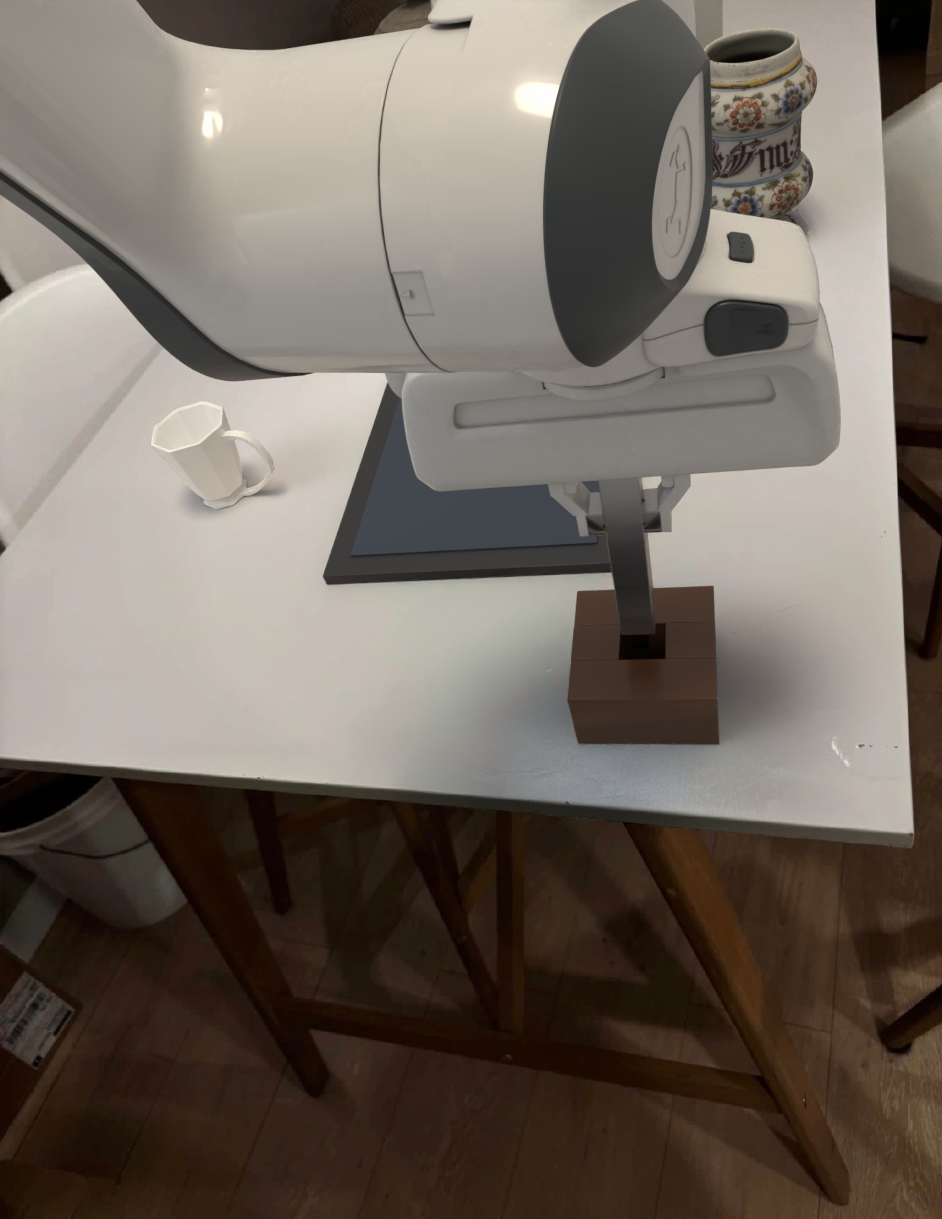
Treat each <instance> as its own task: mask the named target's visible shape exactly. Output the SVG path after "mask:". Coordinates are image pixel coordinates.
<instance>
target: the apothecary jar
mask: <svg viewBox="0 0 942 1219" xmlns="http://www.w3.org/2000/svg"><path fill="white" fill-rule="evenodd" d="M704 51H705V53H706V54H707V55H708V57H709V58H710V74H711V119H712V201H711V209H715V210H720V211H725V212H731V213H737V214H743V215H749V216H756V217H762V218H769V219H776V220H782V221H787V222H791V223H794V224H796V225H798V226H799V224H798V222H797V221H796V219H795V218H794V217H792V216H791V215H789V214H788V213H789V212H790V211H792V210H793V209H794V208H795V207H797V206H798V205H799V204H800V203H801V202H802V201H803V200H804V199H805V198H806V197H807V195H808V193H809V192H810V190H811V188H812V185H813V180H814V169H813V165H812V163H811V160H810V159H809V157H808V156H807V155H806V153H804V152H803V151H802V137H801V136H802V116H803V111H804V110H805V109H806V108H807V107H808V106H809V105H810V103H811V102H812V101H813V98H814V96H815V94H816V93H817V89H818V88H817V87H818V77H817V72H816V70H815V68H814V67H813V65H812V63H811V62H810V61H809V60H807V58H805V57H803V54H802V51H801V44H800V38H799V36H798V34H797V33H795V32H794V31H792V30H789V29H786V28H778V27H762V28H753V29H746V30H740V31H736V32H733V33H729V34H726V35H723V37H720V38H718V39H716V40H714V41H713V42H711V43H709V44H708V45H707V46H706V47H705V48H704Z"/></svg>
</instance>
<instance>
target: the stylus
mask: <svg viewBox="0 0 942 1219" xmlns="http://www.w3.org/2000/svg"><path fill="white" fill-rule="evenodd" d="M598 486H599V492H600V499H601V505H602V512H603V518H604V525H605V531H606V538H607V545H608V551H609V558H610V564H611V571H612V572H611V577H612V583H613V590H615V597H616V603H617V610H618V616H619V623H620V629H621V634H622V635H631V639H632V646H633V649H648V648H649V634H655V614H656V609H655V599H654V590H653V588H654V583H653V582H654V581H653V572H652V562H651V553H650V551H651V550H650V542H649V533H644V523H643V516H642V503H643V489H644V485H643V477H642V478H628V479H613V480H599V481H598Z"/></svg>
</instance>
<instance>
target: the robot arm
mask: <svg viewBox="0 0 942 1219" xmlns="http://www.w3.org/2000/svg"><path fill="white" fill-rule="evenodd" d="M430 2H431V9H432V11H431V12H430V14H429V15H428V20H429V21H430V22H431V23H434V24H428V25H425V26H423V27H421V28H417V29H411V30H404V31H398V32H392V33H385V34H379V35H374V34H373V35H366V36H360V37H353V38H346V39H340V40H333V41H327V42H322V43H315V44H308V45H302V46H295V47H290V48H281V49H279V48H278V49H240V48H238V49H237V48H225V47H219V46H218V47H217V46H212V45H211V46H210V45H207V44H206V45H205V44H203V43H202V44H201V43H197V42H193V41H189V40H186V39H183V38H180V37H177V36H175V35H173V34H171V33H169V32H166V31H165V30H163V29H162V28H160V27H159V26H158V25H157V24H156V23H155V22H154V21H153V18H151V17H150V16H149V14H148V13H147V12H146V11H145V9H144V8H143V7H142V5H141V4H140V3H139V2H138V0H0V196H1V197H2V198H4V199H6V200H7V201H8V202H10V203H12V205H14V206H16V207H17V208H18V209H20V210H21V211H22V212H24V213H25V214H27V215H28V216H30V217H31V218H32V219H34V220H35V221H37V222H38V223H39V224H41V225H42V226H44V227H45V228H46V229H48V231H50V232H51V233H53V235H55V236H56V237H57V238H58V239H59V240H61V241H63V242H64V243H65V244H66V245H67V246H68V247H69V248H70V249H72V250H73V251H74V252H75V254H77V255H78V256H79V257H80V258H81V259H82V260H83V261H84V262H85V263H86V264H87V265H88V266H89V267H90V268H91V269H92V270H93V271H94V272H95V273H96V274H97V276H98V277H100V278H101V280H102V281H103V282H104V284H106V285H107V287H108V288H109V289H110V290H111V291H112V292H113V294H114V295H115V296H116V297H117V298H118V300H120V302H121V304H123V305H124V307H125V308H126V309H127V310H128V311H129V312H130V314H131V315H132V316H133V317H134V318H135V319H136V321H137V322H138V323H139V324H140V325H141V326H142V327H143V328H144V330H146V331H147V333H148V334H149V335H150V336H151V337H152V338H153V339H154V340H155V341H156V342H157V343H158V344H159V345H160V346H161V347H162V348H163V349H164V350H166V352H168V353H169V354H170V355H171V356H173V357H174V358H175V359H176V360H177V361H179V362H180V363H182V364H183V365H185V367H188V368H189V369H191V370H192V371H194V372H196V373H198V374H200V375H203V376H205V377H208V378H211V379H214V380H219V381H223V382H245V381H259V380H269V379H280V378H291V377H302V376H307V375H312V374H318V373H319V374H384V375H385V379H386V381H387V382H388V384H389V386H390V388H391V389H392V390H393V392H394V393H395V394H396V395H397V396H399V397H400V398H402V411H403V420H404V427H405V433H406V439H407V444H408V448H409V453H410V457H411V461H412V464H413V468H414V471H415V474H416V476H417V478H418V479H419V480H421V481H422V482H423V483H425V484H426V485H427V486H429V487H430V488H432V489H433V490H435V491H456V490H470V489H484V488H498V487H513V486H527V485H541V484H548V487H549V492H550V496H552V497H553V498H554V499H555V500H556V501H557V502H558V503H559V504H561V505H562V506H563V507H564V508H565V509H566V510H567V511H568V512H570V513H571V514H572V515H573V516H576V519H577V524H578V529H579V535H580V537H583V536H599V535H606V531H605V525H604V518H603V512H602V505H601V499H600V492H590V491H589V490H588V489H587V488H586V487H585V485H584V484H583V483H582V482H585V481H599V480H613V479H628V478H642V479H643V478H653V477H660V479H661V481H660V483H659V484H658V486H657V487H653V488H643V503H642V516H643V523H644V533H648V534H649V533H650V534H653V533H656V534H657V533H671V532H672V531H673V510H674V508H675V507H677V505H678V504H679V502H680V501H681V500H682V499H683V497H684V496H685V495H686V493H688V490H689V489H690V488H691V486H692V485H691V484H692V483H691V479H692V478H691V475H697V474H715V473H727V472H740V471H741V472H742V471H754V470H755V471H757V470H771V469H783V468H784V469H786V468H799V467H802V468H803V467H813V466H818V465H820V464H822V463H823V462H824V461H825V460H826V459H828V457H830V456H831V455H832V454H833V453H834V452H835V451H836V450H838V447H839V445H840V442H841V441H840V440H841V429H842V428H841V427H842V426H841V425H842V412H841V410H842V409H841V396H840V395H841V394H840V387H839V386H840V385H839V379H838V372H837V366H836V360H835V354H834V347H833V344H832V343H833V342H832V339H831V334H830V329H829V326H828V321H827V317H826V316H827V315H826V313H825V310H824V307H823V305H822V303H821V292H820V291H821V290H820V278H819V272H818V267H817V262H816V259H815V256H814V252H813V250H812V247H811V245H810V242H809V239H808V238H807V236H806V234H805V232H804V230H803V229H802V227H801V226H799V224H798V225H796V224H794V223H791V222H787V221H782V220H776V219H769V218H762V217H756V216H749V215H743V214H737V213H731V212H725V211H720V210H715V209H711V201H712V119H711V74H710V58H709V57H708V55H707V54H706V53H705V51H704V50H703V48H702V46H701V45H700V43H699V42H698V40H697V37H696V22H695V7H694V0H430ZM387 382H386V383H387Z"/></svg>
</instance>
